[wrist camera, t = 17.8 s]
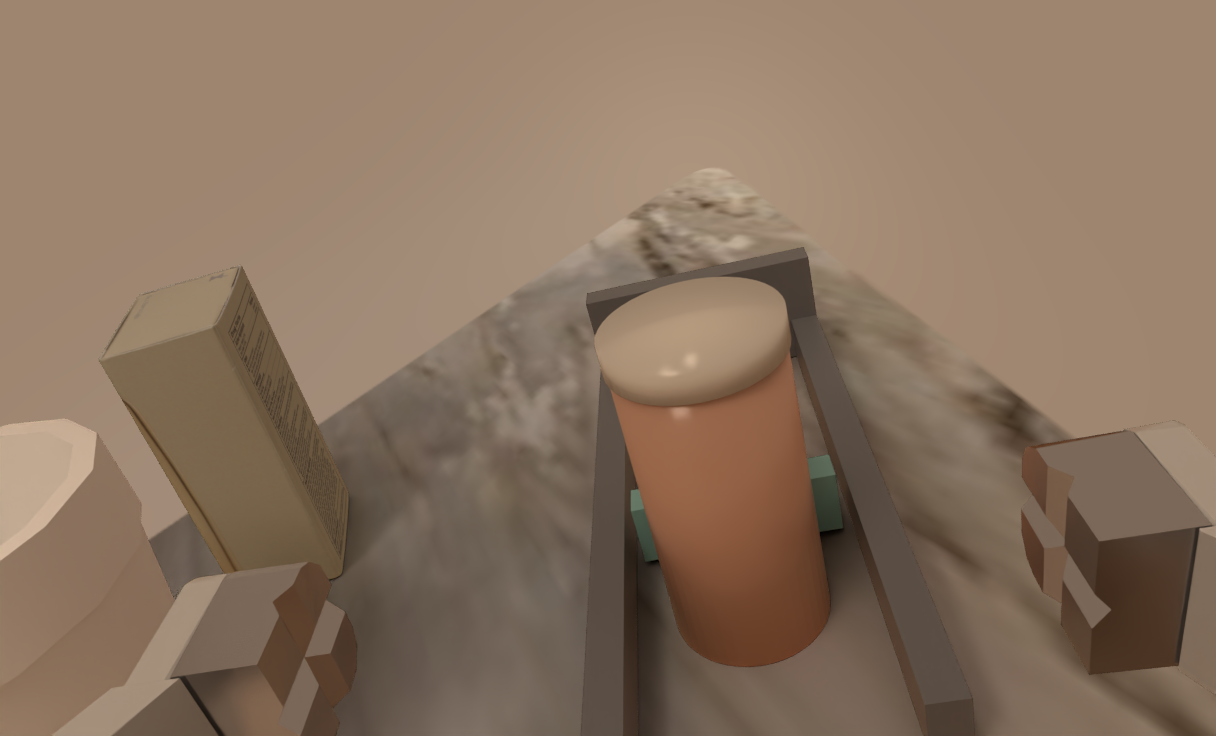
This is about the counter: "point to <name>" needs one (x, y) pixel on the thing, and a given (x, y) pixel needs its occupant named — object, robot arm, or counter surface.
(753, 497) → the terracotta jar
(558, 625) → the counter surface
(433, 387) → the counter surface
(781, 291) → the pusher lane
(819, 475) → the pusher plate
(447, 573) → the counter surface
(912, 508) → the counter surface
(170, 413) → the skincare box
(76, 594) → the foam cup
